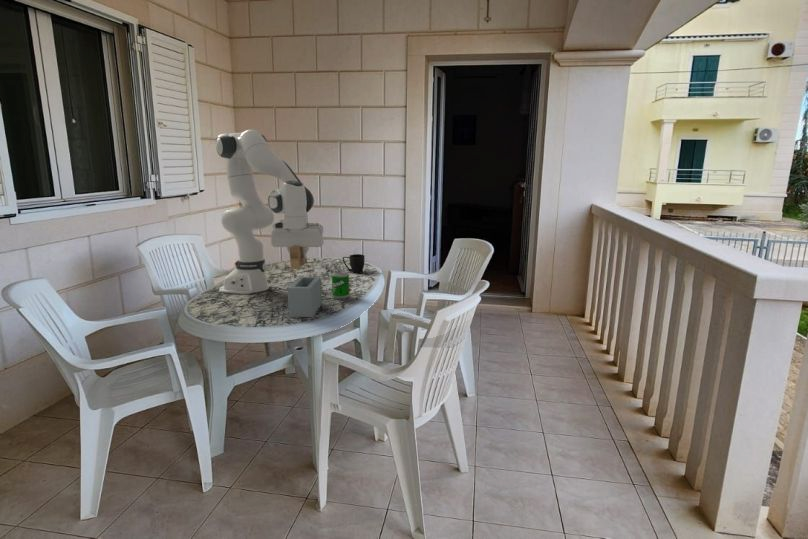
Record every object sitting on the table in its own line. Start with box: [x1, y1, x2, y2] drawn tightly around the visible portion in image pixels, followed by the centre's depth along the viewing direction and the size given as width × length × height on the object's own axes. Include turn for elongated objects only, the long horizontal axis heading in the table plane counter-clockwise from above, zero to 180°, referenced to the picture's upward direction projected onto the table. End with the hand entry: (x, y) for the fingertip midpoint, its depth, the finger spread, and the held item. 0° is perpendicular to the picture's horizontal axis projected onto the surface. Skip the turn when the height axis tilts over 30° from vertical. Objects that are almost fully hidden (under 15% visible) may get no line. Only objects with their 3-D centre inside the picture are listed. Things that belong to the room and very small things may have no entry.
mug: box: [342, 253, 366, 274], centre depth 248 cm, size 8×12×10 cm
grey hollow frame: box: [287, 276, 323, 318], centre depth 183 cm, size 9×18×12 cm, turn 178°
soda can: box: [331, 269, 350, 300], centre depth 201 cm, size 8×8×12 cm
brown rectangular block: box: [289, 247, 308, 270], centre depth 178 cm, size 12×3×8 cm, turn 177°
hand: (298, 257), depth 179 cm, fingers closed on brown rectangular block, 3 cm apart
